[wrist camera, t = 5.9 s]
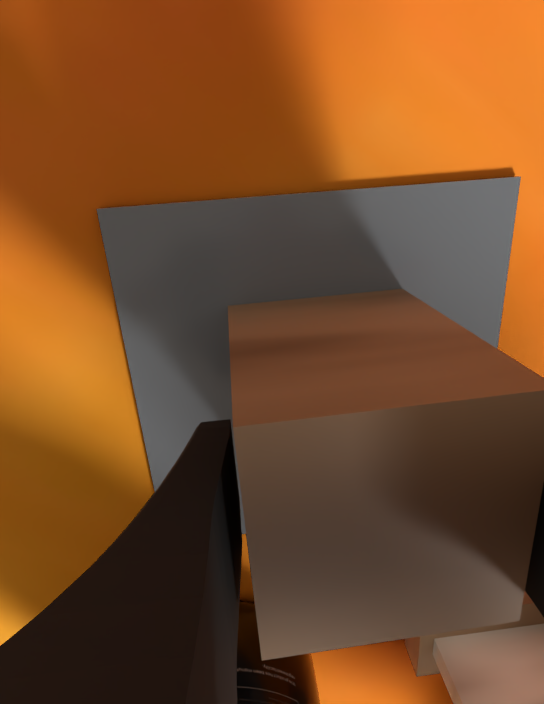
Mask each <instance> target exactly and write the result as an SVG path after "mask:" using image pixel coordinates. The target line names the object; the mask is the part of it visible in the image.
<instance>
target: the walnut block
mask: <svg viewBox="0 0 544 704" xmlns="http://www.w3.org/2000/svg"><path fill="white" fill-rule="evenodd" d="M228 324H229V347H230V371H231V394H232V418H233V432H234V440H235V448H236V456H237V464H238V472H239V480H240V488H241V497H242V505H243V513H244V521H245V529H246V537H247V545H248V553H249V561H250V569H251V577H252V585H253V593H254V602H255V610H256V618H257V626H258V634H259V642H260V650H261V658H262V661H263V660H269V659H276V658H282V657H289V656H296V655H302V654H309V653H315V652H322V651H328V650H335V649H341V648H348V647H354V646H361V645H367V644H374V643H380V642H387V641H393V640H400V639H406V638H413V637H419V636H426V635H432V634H439V633H446V632H452V631H459V630H465V629H472V628H478V627H485V626H491V625H498V624H504V623H511V622H517V621H520V615H521V609H522V604H523V598H524V592H525V586H526V581H527V575H528V569H529V563H530V558H531V552H532V546H533V540H534V535H535V529H536V523H537V517H538V511H539V506H540V500H541V494H542V488H543V483H544V378H543V377H541V376H539V375H538V374H536V373H535V372H533V371H532V370H530V369H528V368H527V367H525V366H524V365H522V364H521V363H519V362H517V361H516V360H514V359H513V358H511V357H509V356H508V355H506V354H505V353H503V352H502V351H500V350H498V349H497V348H495V347H494V346H492V345H491V344H489V343H487V342H486V341H484V340H483V339H481V338H479V337H478V336H476V335H475V334H473V333H472V332H470V331H468V330H467V329H465V328H464V327H462V326H461V325H459V324H457V323H456V322H454V321H453V320H451V319H450V318H448V317H446V316H445V315H443V314H442V313H440V312H438V311H437V310H435V309H434V308H432V307H431V306H429V305H427V304H426V303H424V302H423V301H421V300H420V299H418V298H416V297H415V296H413V295H412V294H410V293H408V292H407V291H405V290H404V289H394V290H384V291H373V292H363V293H353V294H343V295H333V296H323V297H312V298H302V299H292V300H282V301H272V302H261V303H251V304H241V305H231V306H228Z"/></svg>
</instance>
